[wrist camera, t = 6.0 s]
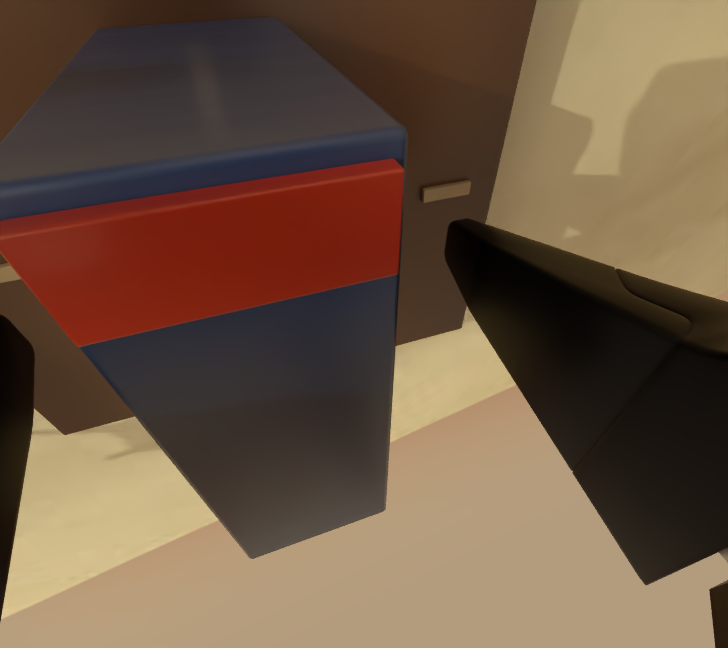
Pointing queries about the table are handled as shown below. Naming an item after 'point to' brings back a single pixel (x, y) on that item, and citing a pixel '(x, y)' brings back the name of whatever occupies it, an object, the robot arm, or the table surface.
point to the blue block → (223, 259)
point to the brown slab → (359, 64)
